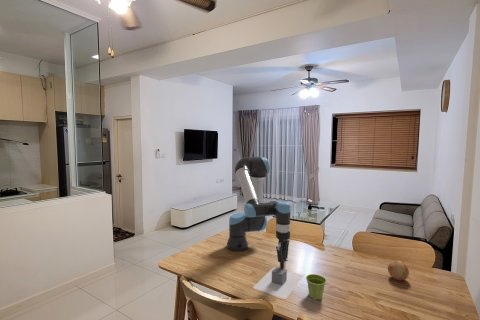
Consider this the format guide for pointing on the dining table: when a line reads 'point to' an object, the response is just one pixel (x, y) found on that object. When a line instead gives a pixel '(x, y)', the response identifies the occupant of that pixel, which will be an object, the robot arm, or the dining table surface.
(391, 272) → the onion
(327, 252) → the dining table surface
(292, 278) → the grip mat
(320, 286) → the plant pot
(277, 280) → the flip cube
